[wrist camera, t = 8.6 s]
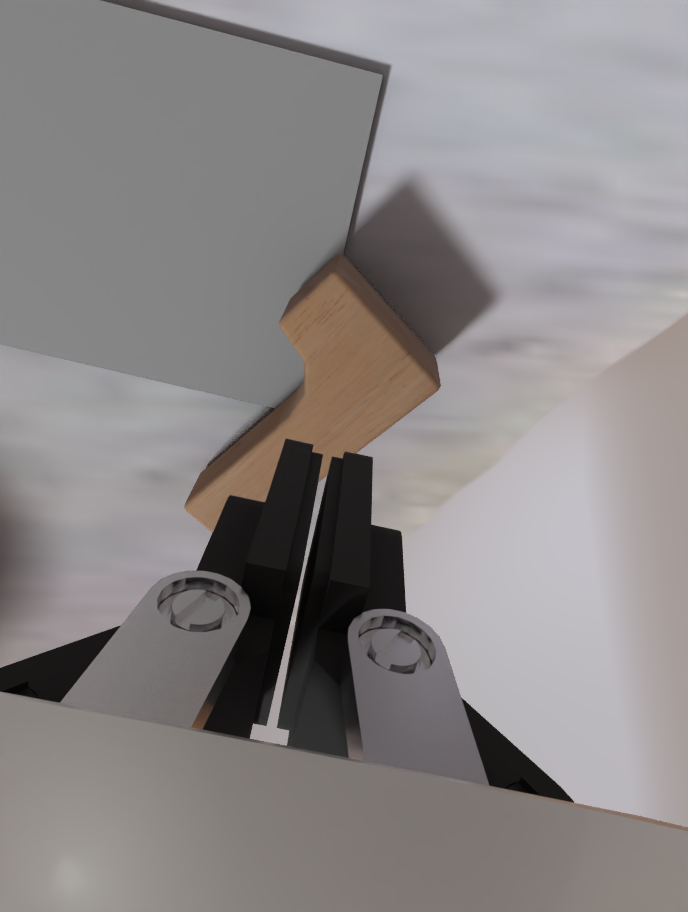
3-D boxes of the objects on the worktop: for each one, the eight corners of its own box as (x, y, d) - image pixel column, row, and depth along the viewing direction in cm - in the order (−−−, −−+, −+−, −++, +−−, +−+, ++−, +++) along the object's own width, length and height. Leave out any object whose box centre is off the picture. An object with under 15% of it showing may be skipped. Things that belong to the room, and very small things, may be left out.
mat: (-1, -26, 33) (-7, -29, 32) (382, 75, 34) (382, 74, 34) (2, 341, 42) (-3, 343, 41) (308, 412, 43) (307, 415, 42)
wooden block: (341, 249, 37) (149, 430, 44) (335, 268, 33) (125, 463, 40) (439, 359, 40) (244, 513, 47) (444, 388, 36) (231, 551, 43)
